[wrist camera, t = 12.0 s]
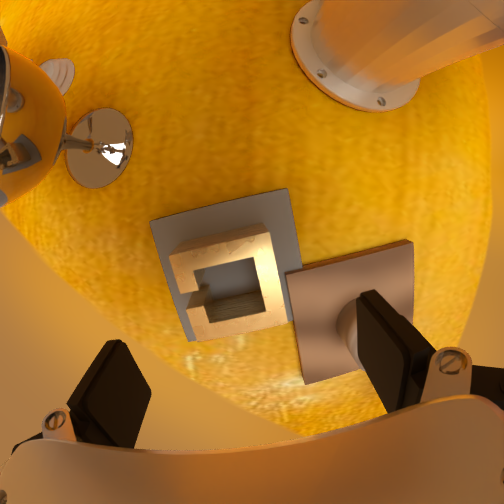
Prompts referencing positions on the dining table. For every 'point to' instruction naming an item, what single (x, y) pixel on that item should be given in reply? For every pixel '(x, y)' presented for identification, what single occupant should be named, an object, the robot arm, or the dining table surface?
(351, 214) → the dining table surface
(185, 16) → the dining table surface
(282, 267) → the mat
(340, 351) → the stand
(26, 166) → the wine glass
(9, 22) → the dining table surface
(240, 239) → the c link
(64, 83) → the chalice
